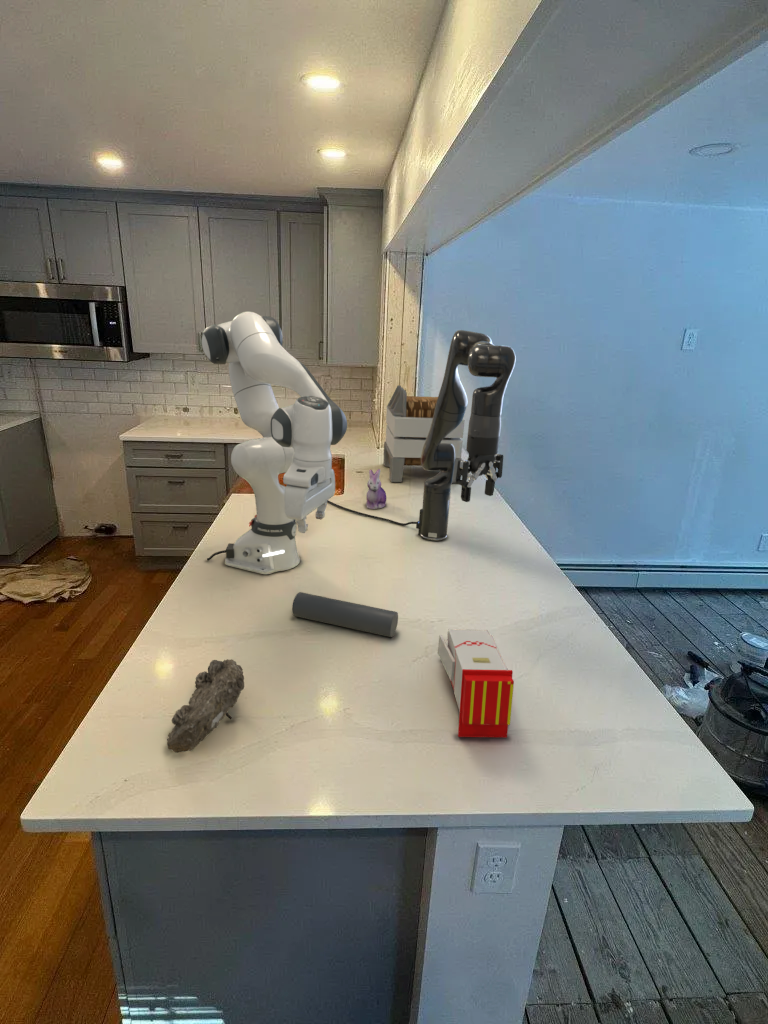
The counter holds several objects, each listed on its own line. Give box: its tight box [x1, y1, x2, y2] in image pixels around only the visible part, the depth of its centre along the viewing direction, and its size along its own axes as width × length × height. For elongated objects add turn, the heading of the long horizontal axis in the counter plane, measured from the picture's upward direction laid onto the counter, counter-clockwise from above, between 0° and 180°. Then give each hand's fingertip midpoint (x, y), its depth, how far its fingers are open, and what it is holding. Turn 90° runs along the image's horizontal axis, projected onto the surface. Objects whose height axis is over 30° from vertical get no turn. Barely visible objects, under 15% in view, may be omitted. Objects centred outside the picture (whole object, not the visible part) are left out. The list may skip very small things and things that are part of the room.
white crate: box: [383, 384, 465, 484], centre depth 268 cm, size 34×33×41 cm
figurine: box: [365, 468, 387, 510], centre depth 224 cm, size 9×10×15 cm
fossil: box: [166, 658, 245, 754], centre depth 106 cm, size 22×10×15 cm
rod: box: [291, 591, 399, 638], centre depth 140 cm, size 26×6×6 cm, turn 72°
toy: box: [437, 628, 515, 738], centre depth 117 cm, size 12×13×30 cm
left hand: (311, 524), depth 135 cm, fingers open, 8 cm apart
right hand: (477, 498), depth 139 cm, fingers open, 8 cm apart
